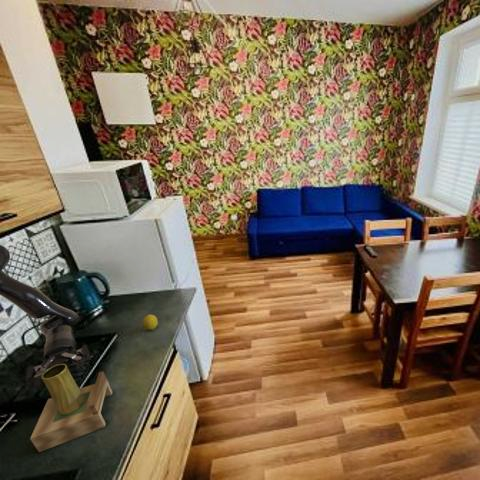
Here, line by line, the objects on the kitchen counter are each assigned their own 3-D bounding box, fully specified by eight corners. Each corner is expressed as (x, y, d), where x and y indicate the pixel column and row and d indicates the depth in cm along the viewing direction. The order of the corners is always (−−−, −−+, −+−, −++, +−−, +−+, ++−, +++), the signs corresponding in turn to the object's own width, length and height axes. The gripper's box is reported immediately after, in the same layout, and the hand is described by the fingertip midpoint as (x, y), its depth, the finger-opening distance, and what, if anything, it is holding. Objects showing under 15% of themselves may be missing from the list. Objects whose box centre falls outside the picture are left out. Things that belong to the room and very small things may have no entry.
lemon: (143, 329, 120) (138, 315, 117) (156, 323, 124) (152, 309, 120) (148, 335, 116) (143, 321, 113) (161, 328, 120) (157, 314, 117)
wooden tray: (39, 452, 74) (23, 429, 70) (55, 412, 85) (42, 390, 81) (104, 426, 81) (93, 404, 77) (112, 392, 91) (103, 371, 88)
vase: (56, 407, 80) (36, 373, 74) (81, 392, 85) (64, 358, 79) (62, 419, 77) (42, 384, 71) (88, 402, 81) (71, 368, 76)
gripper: (25, 350, 84) (20, 384, 72) (83, 329, 92) (86, 356, 81) (35, 367, 86) (31, 402, 75) (90, 345, 95) (95, 373, 84)
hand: (60, 378), depth 78 cm, fingers open, 8 cm apart
